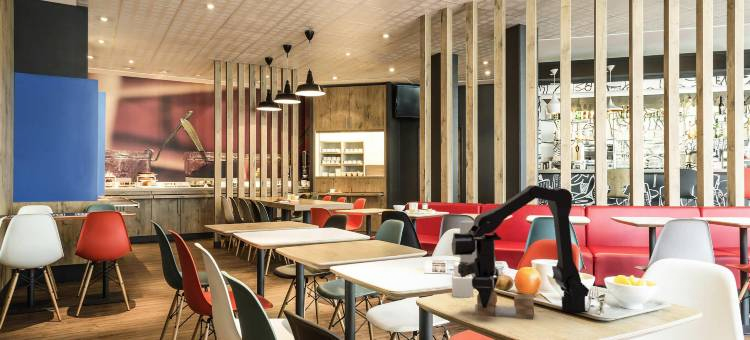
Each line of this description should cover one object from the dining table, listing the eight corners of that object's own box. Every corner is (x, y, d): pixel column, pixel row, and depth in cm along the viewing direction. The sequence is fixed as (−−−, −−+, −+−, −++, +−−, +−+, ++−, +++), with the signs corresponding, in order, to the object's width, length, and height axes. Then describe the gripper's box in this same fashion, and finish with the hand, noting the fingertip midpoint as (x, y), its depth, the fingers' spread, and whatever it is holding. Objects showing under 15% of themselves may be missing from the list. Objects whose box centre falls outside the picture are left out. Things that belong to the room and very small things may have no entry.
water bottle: (460, 284, 206) (459, 222, 206) (460, 280, 213) (459, 220, 213) (483, 285, 204) (482, 222, 204) (482, 280, 212) (481, 220, 212)
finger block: (497, 311, 162) (496, 292, 162) (495, 316, 157) (494, 297, 157) (480, 310, 164) (479, 291, 164) (477, 315, 158) (477, 295, 158)
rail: (533, 316, 158) (533, 306, 158) (533, 322, 153) (532, 311, 153) (475, 312, 165) (475, 302, 165) (472, 317, 159) (472, 307, 159)
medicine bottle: (471, 292, 191) (470, 260, 191) (473, 297, 184) (472, 264, 184) (452, 292, 192) (451, 260, 192) (453, 297, 185) (452, 264, 185)
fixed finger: (533, 314, 158) (533, 294, 159) (533, 319, 153) (532, 299, 153) (515, 312, 160) (515, 293, 160) (514, 318, 155) (514, 298, 155)
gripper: (464, 249, 172) (465, 295, 172) (454, 258, 154) (455, 309, 154) (498, 250, 168) (499, 297, 168) (492, 259, 151) (493, 312, 151)
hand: (486, 304), depth 160 cm, fingers open, 9 cm apart
